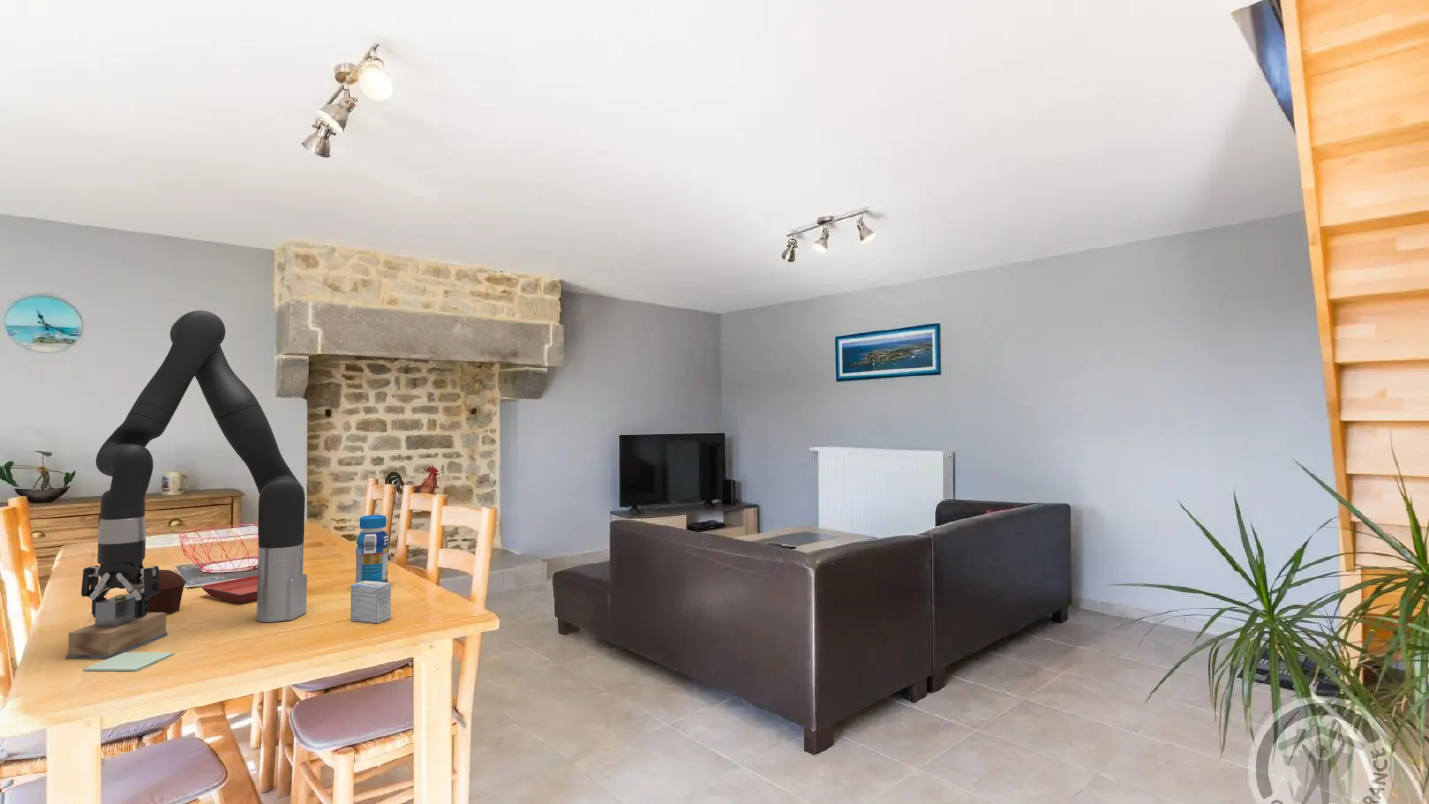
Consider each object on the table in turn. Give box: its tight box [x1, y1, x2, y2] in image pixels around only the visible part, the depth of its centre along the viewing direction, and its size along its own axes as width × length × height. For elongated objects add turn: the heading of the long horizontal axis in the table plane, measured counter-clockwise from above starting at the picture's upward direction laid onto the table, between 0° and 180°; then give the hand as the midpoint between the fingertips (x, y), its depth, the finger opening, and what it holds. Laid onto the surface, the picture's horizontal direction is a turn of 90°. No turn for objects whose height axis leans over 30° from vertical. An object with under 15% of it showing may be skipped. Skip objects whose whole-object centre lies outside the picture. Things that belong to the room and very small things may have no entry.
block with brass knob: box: [94, 593, 143, 628], centre depth 141 cm, size 4×7×6 cm, turn 0°
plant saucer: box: [200, 574, 309, 604], centre depth 182 cm, size 18×18×3 cm
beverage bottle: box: [355, 514, 390, 583], centre depth 190 cm, size 8×8×20 cm
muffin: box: [125, 569, 187, 616], centre depth 164 cm, size 12×11×10 cm
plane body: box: [65, 612, 168, 660], centre depth 140 cm, size 8×14×5 cm, turn 0°
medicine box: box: [350, 581, 392, 624], centre depth 160 cm, size 8×4×9 cm, turn 74°
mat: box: [82, 651, 175, 672], centre depth 131 cm, size 10×9×1 cm
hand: (120, 616), depth 141 cm, fingers open, 8 cm apart
